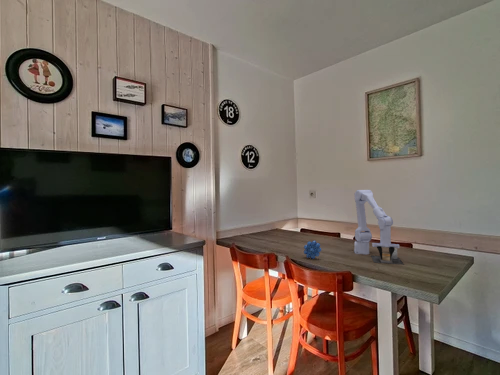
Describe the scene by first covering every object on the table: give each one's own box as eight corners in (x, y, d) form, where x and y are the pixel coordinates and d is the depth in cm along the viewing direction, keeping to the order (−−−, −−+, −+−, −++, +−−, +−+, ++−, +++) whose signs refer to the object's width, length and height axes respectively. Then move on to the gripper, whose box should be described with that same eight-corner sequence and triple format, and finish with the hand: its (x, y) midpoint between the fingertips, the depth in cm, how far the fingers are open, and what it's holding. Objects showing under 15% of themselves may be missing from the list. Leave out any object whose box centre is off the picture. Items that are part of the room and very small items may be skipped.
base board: (374, 264, 157) (374, 260, 157) (370, 257, 172) (370, 254, 172) (404, 266, 152) (404, 263, 152) (398, 259, 167) (398, 255, 167)
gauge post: (391, 258, 164) (391, 246, 164) (390, 257, 167) (390, 244, 167) (397, 259, 163) (397, 246, 163) (396, 257, 166) (396, 245, 166)
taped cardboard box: (382, 261, 158) (382, 253, 158) (381, 259, 162) (381, 251, 162) (390, 262, 157) (389, 253, 157) (388, 260, 161) (388, 252, 161)
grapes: (323, 258, 172) (322, 239, 171) (320, 260, 166) (320, 241, 165) (305, 256, 177) (305, 238, 177) (302, 258, 171) (302, 240, 171)
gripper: (373, 237, 158) (373, 260, 158) (400, 238, 153) (400, 261, 153) (371, 235, 164) (371, 256, 165) (397, 236, 160) (398, 258, 160)
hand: (385, 259), depth 159 cm, fingers closed on taped cardboard box, 4 cm apart
